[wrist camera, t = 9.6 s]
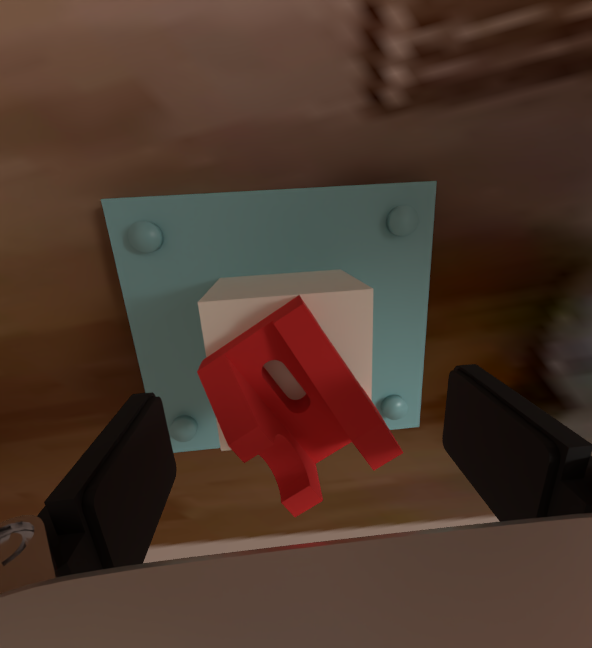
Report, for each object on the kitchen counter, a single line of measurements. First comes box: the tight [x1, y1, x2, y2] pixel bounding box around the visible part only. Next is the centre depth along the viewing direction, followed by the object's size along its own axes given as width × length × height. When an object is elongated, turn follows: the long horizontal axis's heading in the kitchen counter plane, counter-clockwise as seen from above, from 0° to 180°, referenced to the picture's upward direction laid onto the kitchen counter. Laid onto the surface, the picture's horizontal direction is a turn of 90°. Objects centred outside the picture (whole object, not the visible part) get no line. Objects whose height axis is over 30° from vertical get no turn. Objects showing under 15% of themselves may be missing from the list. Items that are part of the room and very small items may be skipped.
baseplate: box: [101, 181, 437, 453], centre depth 19 cm, size 18×16×2 cm
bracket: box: [197, 295, 403, 517], centre depth 12 cm, size 6×5×3 cm
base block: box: [198, 269, 373, 451], centre depth 16 cm, size 7×7×6 cm
